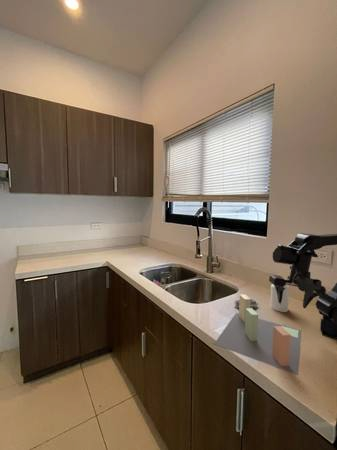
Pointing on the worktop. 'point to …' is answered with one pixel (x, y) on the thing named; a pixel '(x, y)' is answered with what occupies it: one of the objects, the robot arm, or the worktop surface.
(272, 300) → the pill bottle
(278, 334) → the terracotta tile
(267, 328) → the mat
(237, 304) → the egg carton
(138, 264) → the worktop surface
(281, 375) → the worktop surface
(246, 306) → the sand tile
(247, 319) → the sage tile
